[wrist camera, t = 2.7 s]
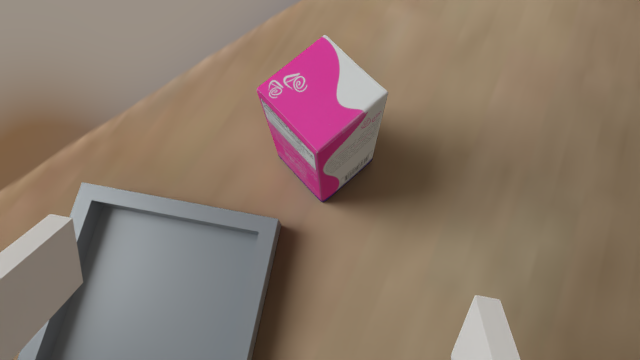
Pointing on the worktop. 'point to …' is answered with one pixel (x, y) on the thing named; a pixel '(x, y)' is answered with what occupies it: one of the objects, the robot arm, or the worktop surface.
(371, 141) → the supplement box
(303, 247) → the worktop surface
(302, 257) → the worktop surface
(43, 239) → the robot arm
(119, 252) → the tray
